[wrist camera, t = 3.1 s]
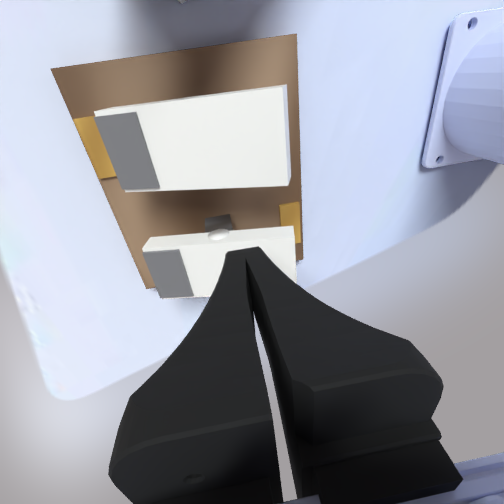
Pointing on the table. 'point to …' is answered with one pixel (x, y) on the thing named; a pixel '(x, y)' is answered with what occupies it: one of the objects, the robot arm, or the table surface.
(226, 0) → the table surface
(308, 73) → the table surface
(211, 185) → the front rocker
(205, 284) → the block
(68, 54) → the table surface
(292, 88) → the switch board
